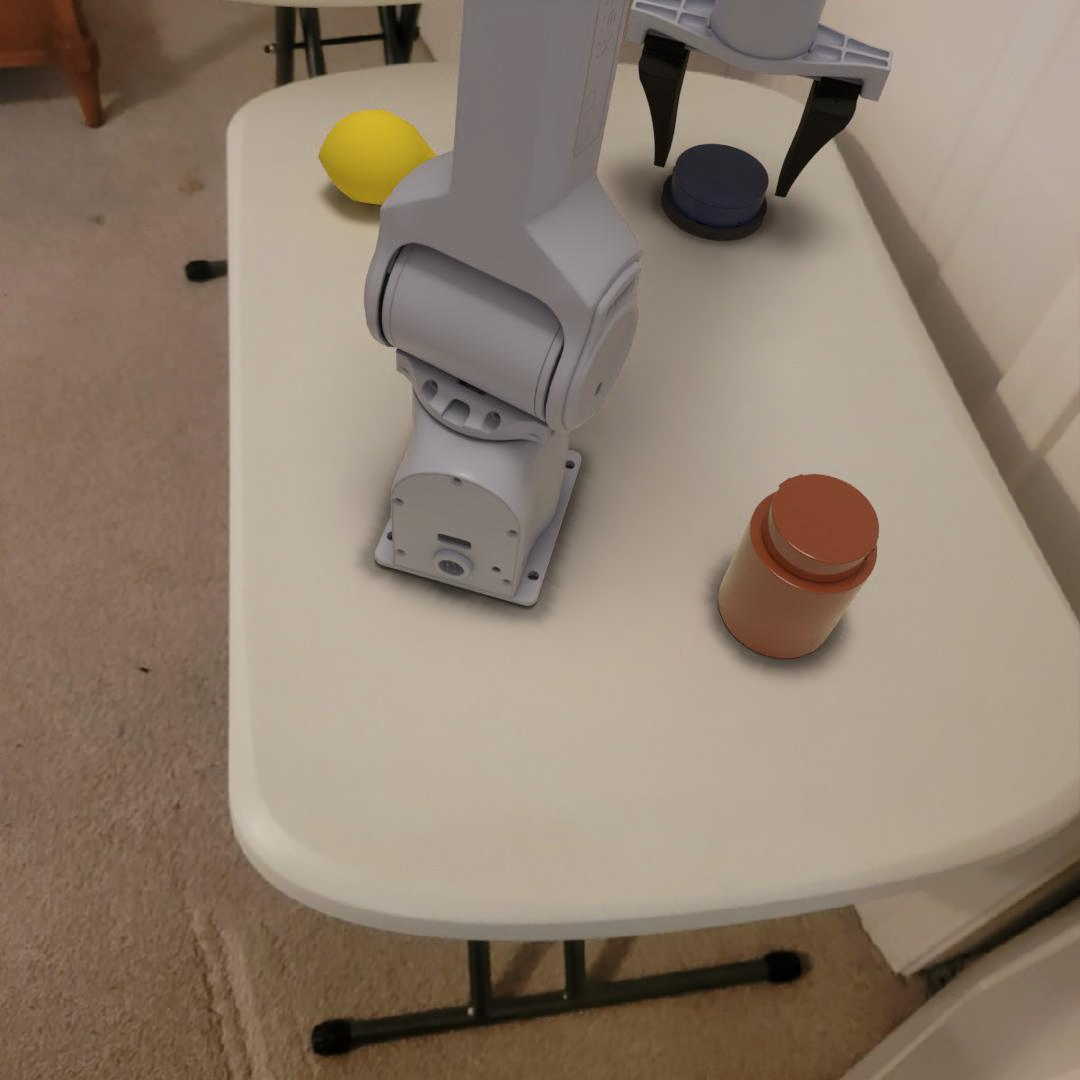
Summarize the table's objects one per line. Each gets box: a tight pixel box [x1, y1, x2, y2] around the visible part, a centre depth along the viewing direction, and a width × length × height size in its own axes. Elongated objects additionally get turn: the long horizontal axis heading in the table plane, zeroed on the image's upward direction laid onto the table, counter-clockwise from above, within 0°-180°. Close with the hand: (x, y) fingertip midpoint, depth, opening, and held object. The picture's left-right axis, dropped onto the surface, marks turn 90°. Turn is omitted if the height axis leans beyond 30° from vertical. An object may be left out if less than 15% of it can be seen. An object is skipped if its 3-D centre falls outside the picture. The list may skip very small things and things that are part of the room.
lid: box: [670, 143, 770, 228], centre depth 64 cm, size 6×6×2 cm
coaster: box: [660, 173, 768, 241], centre depth 65 cm, size 7×7×1 cm
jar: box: [717, 473, 880, 659], centre depth 46 cm, size 6×6×8 cm
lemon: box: [318, 108, 438, 206], centre depth 61 cm, size 7×5×5 cm
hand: (721, 172), depth 64 cm, fingers open, 7 cm apart
